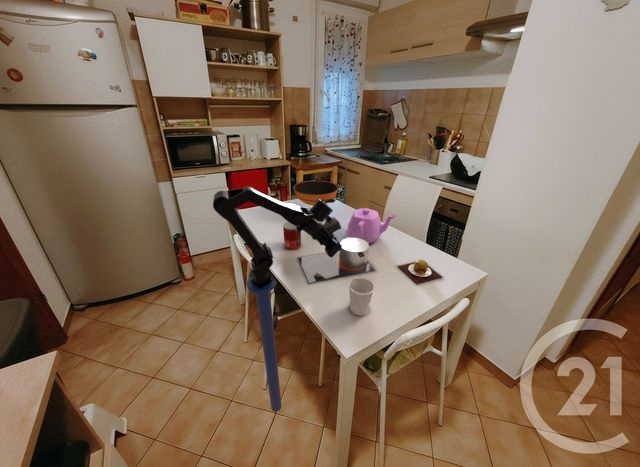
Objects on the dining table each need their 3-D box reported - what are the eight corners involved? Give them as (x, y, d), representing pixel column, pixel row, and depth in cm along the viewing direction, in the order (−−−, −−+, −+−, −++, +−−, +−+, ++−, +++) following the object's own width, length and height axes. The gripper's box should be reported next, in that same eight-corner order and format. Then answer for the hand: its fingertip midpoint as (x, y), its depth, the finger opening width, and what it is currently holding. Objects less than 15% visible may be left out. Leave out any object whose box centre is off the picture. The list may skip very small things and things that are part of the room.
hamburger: (421, 261, 113) (424, 250, 111) (441, 277, 104) (445, 266, 101) (398, 266, 110) (400, 255, 107) (416, 284, 100) (419, 272, 97)
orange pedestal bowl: (284, 208, 164) (283, 181, 156) (320, 202, 175) (320, 176, 166) (309, 232, 136) (309, 200, 128) (350, 223, 147) (352, 193, 138)
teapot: (340, 245, 125) (342, 216, 118) (352, 226, 143) (354, 200, 136) (389, 254, 118) (393, 224, 111) (394, 234, 135) (399, 207, 128)
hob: (309, 283, 100) (309, 282, 99) (298, 258, 115) (298, 257, 114) (375, 270, 107) (375, 270, 107) (356, 248, 122) (356, 248, 122)
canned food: (300, 250, 121) (299, 228, 116) (283, 249, 121) (281, 228, 116) (301, 241, 128) (301, 221, 122) (285, 241, 128) (284, 221, 122)
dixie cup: (344, 300, 91) (346, 277, 87) (368, 299, 92) (371, 276, 87) (348, 319, 84) (350, 294, 79) (374, 317, 84) (378, 293, 80)
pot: (347, 273, 105) (348, 256, 101) (333, 253, 118) (334, 238, 114) (374, 268, 108) (376, 251, 104) (358, 249, 121) (359, 234, 117)
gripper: (337, 224, 91) (363, 246, 99) (321, 205, 107) (345, 225, 115) (316, 247, 93) (343, 267, 101) (302, 225, 108) (327, 243, 116)
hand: (340, 249), depth 108 cm, fingers closed, pressing on pot
